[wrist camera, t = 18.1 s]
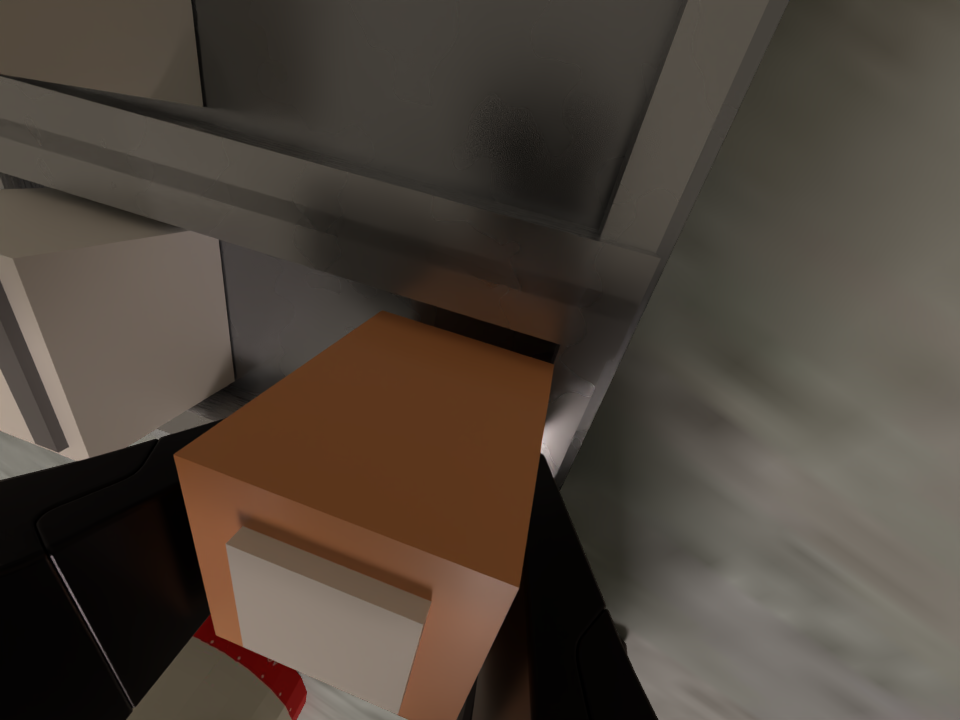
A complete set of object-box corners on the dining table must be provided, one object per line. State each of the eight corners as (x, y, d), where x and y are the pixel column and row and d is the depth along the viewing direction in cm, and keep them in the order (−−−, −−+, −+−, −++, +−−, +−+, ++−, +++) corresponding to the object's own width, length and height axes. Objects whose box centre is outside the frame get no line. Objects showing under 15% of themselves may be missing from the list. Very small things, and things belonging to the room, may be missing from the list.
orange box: (506, 492, 10) (442, 759, 6) (368, 442, 10) (201, 652, 6) (554, 364, 8) (515, 612, 4) (382, 310, 9) (149, 469, 4)
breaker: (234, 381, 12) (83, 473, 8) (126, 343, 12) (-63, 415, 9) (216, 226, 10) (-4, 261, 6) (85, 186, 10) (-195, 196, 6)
